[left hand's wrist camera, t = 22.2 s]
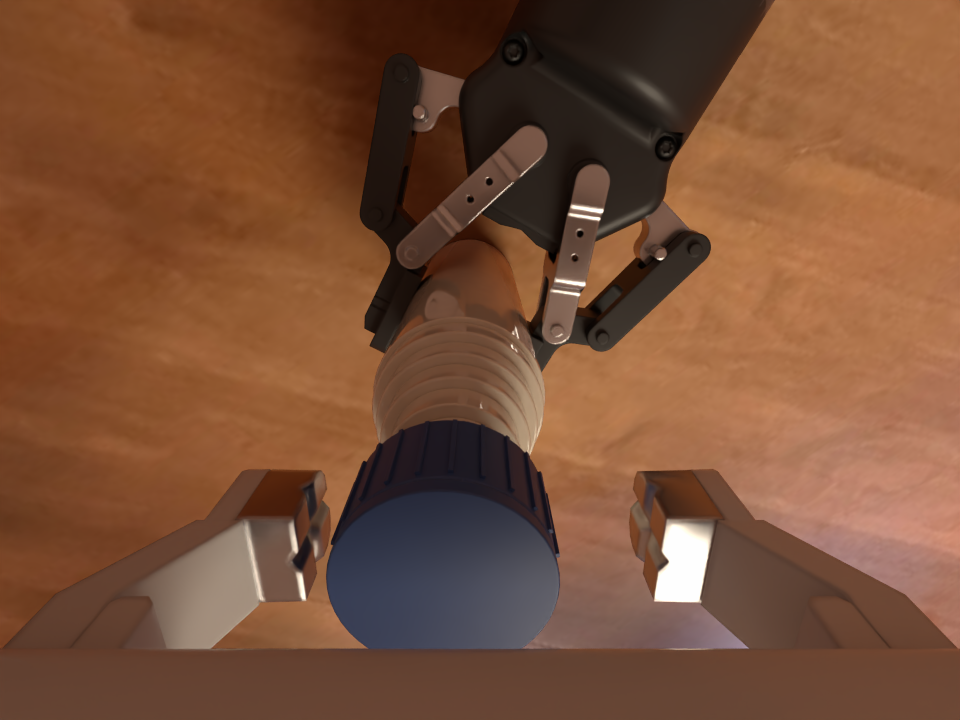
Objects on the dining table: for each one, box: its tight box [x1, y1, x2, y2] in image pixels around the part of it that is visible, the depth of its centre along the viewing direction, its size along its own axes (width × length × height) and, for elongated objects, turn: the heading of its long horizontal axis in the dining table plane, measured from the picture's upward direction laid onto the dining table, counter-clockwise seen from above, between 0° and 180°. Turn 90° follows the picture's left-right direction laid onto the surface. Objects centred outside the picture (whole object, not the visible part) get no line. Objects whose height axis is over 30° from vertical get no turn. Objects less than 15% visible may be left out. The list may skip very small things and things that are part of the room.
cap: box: [326, 419, 560, 649], centre depth 9 cm, size 4×4×2 cm
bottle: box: [372, 239, 545, 456], centre depth 18 cm, size 5×5×21 cm
